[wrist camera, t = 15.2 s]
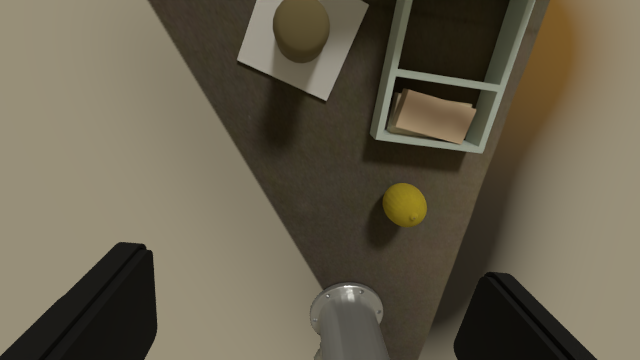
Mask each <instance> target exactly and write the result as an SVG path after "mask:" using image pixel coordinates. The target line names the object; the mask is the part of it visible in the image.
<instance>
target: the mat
mask: <svg viewBox="0 0 640 360" xmlns="http://www.w3.org/2000/svg"><path fill="white" fill-rule="evenodd" d="M282 1H283V0H257V1H256V4H255V7H254V10H253V13H252V16H251V19H250V22H249V25H248V28H247V31H246V34H245V38H244V41H243V44H242V47H241V50H240V53H239V56H238V59H237V60H238V61H240V62H242V63H245V64H247V65H249V66H251V67H253V68H256V69H258V70H260V71H262V72H264V73H266V74H269V75H271V76H273V77H275V78H277V79H280V80H282V81H284V82H286V83H288V84H290V85H293V86H295V87H297V88H299V89H301V90H304V91H306V92H308V93H310V94H312V95H314V96H317V97H319V98H321V99H323V100H325V101H327V99H328V97H329V94H330V92H331V90H332V88H333V85H334V83H335V81H336V79H337V76H338V74H339V72H340V70H341V67H342V65H343V63H344V60H345V58H346V56H347V54H348V51H349V49H350V47H351V45H352V42H353V40H354V38H355V36H356V33H357V31H358V29H359V26H360V24H361V22H362V20H363V17H364V15H365V13H366V11H367V8H368V6H369V5H368V4H367V3H365V2H363V1H361V0H318V1H319V2H320V3H321V4H322V5H323V6H324V8H325V10H326V12H327V14H328V16H329V22H330V33H329V37H328V40H327V42H326V44H325V46H324V48H323V50H322V52H321V53H320V54H319V56H318V57H317V58H315V59H314V60H312V61H311V62H307V63H295V62H293V61H291V60H288V59H287V58H286V57H285V56H284V55H283V54H282V53H281V51H280V50H279V48H278V46H277V42H276V39H275V36H274V33H273V17H274V14H275V11H276V9H277V7H278V6H279V5H280V3H281V2H282Z"/></svg>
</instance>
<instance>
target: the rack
mask: <svg viewBox="0 0 640 360" xmlns="http://www.w3.org/2000/svg"><path fill="white" fill-rule="evenodd" d="M412 1H413V0H397V1H396V6H395V11H394V16H393V21H392V26H391V31H390V36H389V41H388V45H387V50H386V55H385V60H384V65H383V70H382V75H381V80H380V85H379V90H378V95H377V99H376V104H375V109H374V114H373V119H372V124H371V129H370V135H371V136H372V137H373V138H374V139H375V140H382V141H390V142H398V143H406V144H413V145H421V146H429V147H437V148H444V149H452V150H460V151H468V152H475V153H483V150H484V148H485V145H486V142H487V139H488V136H489V133H490V130H491V127H492V124H493V122H494V119H495V116H496V113H497V110H498V107H499V104H500V101H501V98H502V96H503V93H504V90H505V87H506V84H507V81H508V78H509V75H510V72H511V70H512V67H513V64H514V61H515V58H516V55H517V52H518V49H519V46H520V44H521V41H522V38H523V35H524V32H525V29H526V26H527V23H528V20H529V18H530V15H531V12H532V9H533V6H534V3H535V0H510V1H509V4H508V8H507V11H506V14H505V17H504V20H503V23H502V26H501V29H500V33H499V36H498V39H497V42H496V45H495V48H494V51H493V54H492V58H491V61H490V64H489V67H488V70H487V73H486V76H485V79H484V82H478V81H472V80H465V79H459V78H453V77H446V76H440V75H434V74H427V73H421V72H415V71H408V70H402V69H398V64H399V60H400V55H401V51H402V46H403V41H404V37H405V32H406V28H407V23H408V19H409V14H410V10H411V5H412ZM396 76H397V77H404V78H410V79H417V80H423V81H429V82H436V83H442V84H449V85H455V86H462V87H468V88H475V89H481V92H480V95H479V98H478V101H477V104H476V108H475V109H477V110H476V113H475V115H474V117H473V119H472V122H471V124H470V126H469V130H468V133H467V136H466V139H465V140H463V142H462V144H457V143H454V142H450V141H446V140H443V139H437V138H429V137H422V136H414V135H406V134H399V133H391V132H389V131H387V130H384V128H385V123H386V119H387V114H388V110H389V105H390V101H391V96H392V91H393V87H394V82H395V78H396Z"/></svg>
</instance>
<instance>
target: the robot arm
mask: <svg viewBox="0 0 640 360" xmlns="http://www.w3.org/2000/svg"><path fill="white" fill-rule="evenodd" d="M382 316H383V307H382V303H381V300H380V298H379V296H378V295H377V293H375V292H374V291H373V290H372V289H371V288H369V287H367V286H365V285H362V284H358V283H340V284H336V285H333V286H331V287H329V288H327V289H325V290H324V291H322V292H321V293H320V294H319V295H318V296H317V297H316V298H315V300H314V301H313V303H312V306H311V309H310V320H311V325H312V326H313V328H314V330H315V331H316V332H317V334H319V335H320V336H321V343H320V349H319V350H318V352H317V353H316V355H315V357H314V360H389V356H388V353H387V350H386V347H385V343H384V340H383V337H382V334H381V330H380V327H379V324H380V322H381V320H382ZM156 333H157V314H156V297H155V281H154V265H153V253H152V251H151V250H147V249H146V246H145V245H144V244H138V243H126V242H119V243H118V244H116V245H115V246H114V247H113V248H112V249H111V250H110V251H109V252H108V253H107V254H106V255H105V256H104V257H103V258H102V259H101V260H100V261H99V262H98V263H97V264H96V265H95V266H94V267H93V268H92V269H91V270H90V271H89V272H88V273H87V274H85V276H83V278H82V279H80V281H79V282H77V283H76V284H75V285H74V286H73V287H72V288H71V289H70V290H69V291H68V292H67V293H66V294H65V295H64V296H62V297H61V298H60V299H59V300H57V301H56V302H55V303H54V305H52V306H51V307H50V308H49V309H48V310H47V311H46V312H45V313H44V314H43V315H42V316H41V317H40V318H39V319H38V320H37V321H36V322H35V323H34V324H33V325H32V326H31V327H30V328H29V329H28V330H27V331H26V332H25V333H24V334H23V335H22V336H21V337H19V338H18V339H17V340H16V341H15V342H14V343H13V344H12V345H11V346H10V347H9V348H8V349H7V350H6V351H5V352H4V353H3V354H2V355H1V356H0V360H144V359H145V357H146V355H147V353H148V351H149V349H150V348H151V346H152V344H153V342H154V339H155V336H156ZM454 352H455V355H456V357H457V359H458V360H597V359H596V358H595V357H594V356H593V355H592V354H591V353H590V352H589V351H588V350H587V349H586V348H585V347H584V346H583V345H582V344H581V343H580V342H579V341H578V340H577V339H576V338H575V337H574V336H573V335H572V334H571V333H570V332H569V331H568V330H567V329H566V328H564V326H563V325H562V324H560V322H558V320H557V319H556V318H554V317H553V315H551V314H550V313H549V312H548V311H547V310H546V309H545V308H544V307H543V306H542V305H541V304H540V303H539V302H538V301H537V300H536V299H535V298H534V297H533V296H532V295H531V294H530V293H529V292H528V291H527V290H526V289H525V288H524V287H523V286H522V285H521V284H520V283H519V282H518V281H517V280H516V279H515V278H514V277H513V276H512V275H510V274H507V273H497V272H487V273H486V274H485V275H484V277H481V278H480V280H479V281H478V284H477V286H476V289H475V291H474V294H473V296H472V299H471V301H470V304H469V306H468V309H467V311H466V314H465V316H464V319H463V321H462V324H461V326H460V328H459V331H458V333H457V336H456V338H455V341H454Z"/></svg>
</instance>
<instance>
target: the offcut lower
mask: <svg viewBox="0 0 640 360" xmlns="http://www.w3.org/2000/svg"><path fill="white" fill-rule="evenodd" d="M401 94H402V93H396V92H395V93H394V98H393V102H392V107H391V111H390V116H389V120H388V125H387V129H386V130H387V131H389V132H391V133H399V134H406V135H414V136H422V137H429V138H435V137H432V136H428V135H424V134H420V133H417V132H413V131H409V130H406V129H402V128H398V127H395V126H394V125H392V124H391V122H392V120H393V117H394V114H395V111H396V108H397V105H398V103H399V100H400V97H401ZM443 100H444V99H443ZM446 101H449V102H453V103H456V104H460V105H463V106H466V107H470V108H471V107H472V104H469V103H464V102H457V101H450V100H446ZM437 139H439V138H437Z"/></svg>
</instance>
